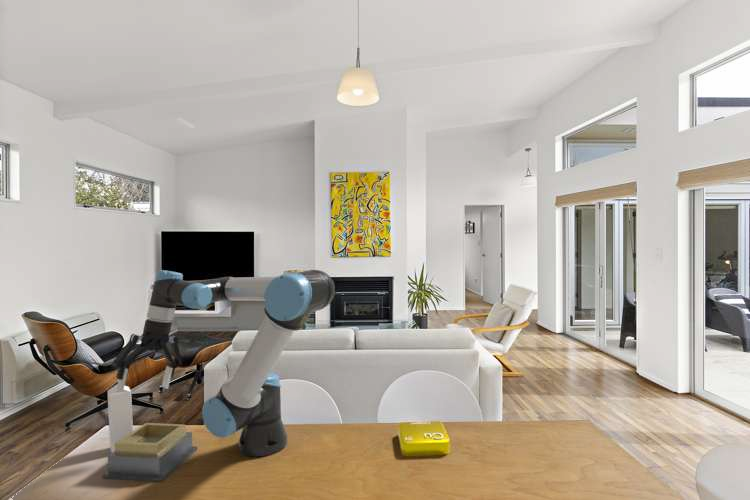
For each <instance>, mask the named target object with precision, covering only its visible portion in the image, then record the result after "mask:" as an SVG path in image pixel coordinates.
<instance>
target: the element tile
mask: <svg viewBox="0 0 750 500" xmlns="http://www.w3.org/2000/svg"><path fill="white" fill-rule="evenodd" d="M397 435H398V436H397V437H398V443H399V447H400V448H399V449H400V453H401V455H402V456H405V457H422V456H425V457H426V456H445V455H449V454H450V453H451V440H450V437H449V435H448V432H447V430H446V428H445V426H444V424H443V422H442V421H439V420H432V421H430V420H428V421H408V422H407V421H406V422H399V423H398V424H397Z"/></svg>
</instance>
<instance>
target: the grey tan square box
mask: <svg viewBox="0 0 750 500" xmlns="http://www.w3.org/2000/svg"><path fill="white" fill-rule="evenodd" d="M197 450H198V446H193V432H192V431H191V432H189V431H186V424H181V423H179V424H178V423H159V422H156V423H154V422H145V423H144V424H142V425H141V426H139V427H137V428H136V429H135V430H134V429H133V432H131V433H130V434H128V435H127V436H125V437H124V438H122V439H120V440H119V441H117V442H116V443H115V451H114V452H112V453H109V454H108V455H107V469H108V470H107V471H106V472H104V473H103V474H102V479H109V480H111V479H112V480H122V481H123V480H124V481H125V480H127V481H138V482H139V481H140V482H141V481H142V482H153V483H155V482H157V483H162V482H163V481H164V480H165V479H166V478H167V477H168V476H170V475H171V473H173V472H174V471H175V470H176V469H177V468H179V467H180V465H182V464H183V463H185V461H186V460H188V459H189V458H190V457H191V456H193V454H194V453H196V451H197Z"/></svg>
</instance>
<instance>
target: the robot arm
mask: <svg viewBox="0 0 750 500" xmlns="http://www.w3.org/2000/svg"><path fill="white" fill-rule="evenodd" d="M183 278H184V275H183V273H181V272H176V271H171V270H164V269H160V270H158V272H157V273H156V276H155V280H154V282H153V288H152V290H151V291H152V293H151V295H150V300H149V306H148V309H147V313H146V318H147V319H146V320H145V321H144V326H143V332H142V334H141V335H139V334H138V335H137V334H135V333H131V334H130V337H129V340H128V342H127V343H126V344H125V346H124V347H123V348H122V349H121V351H120V352H119V354H118V355H117V356H116V357H115V358H114V360H113V361H112V365H113V366H115V367H117V373H116V379H117V384H118V385H117V384H116V385H117V390H118V391H120V392H123V390H124V386H126V381H127V377H128V372H129V368H128V367H129V365H131V364H132V363H133V362H134V361H135V360H136V359H137V358H139V356H140V355H142V354H143V353H145V352H146V351H156V352H157V351H160V352H161V354H162V355H163V357H164V359H165V361H166V363H167V364H168V365H166V367H165V372H164V375H163V378H162V384H161V387H162V388H163V389H165V390H169V388H170V382H171V379H172V378H173V377H174V375H175V370H176V369H177V368H178V367H179V366H182V365H183V361H182V358H181V353H180V348H179V344H178V343H179V337H178V336H176V335H171V336H170V334H171V329H172V325H173V322H171V321H174V317H175V313H176V308H177V305H179V306H182V307H187V308H188V309H193V310H194V309H197V310H202V309H206V307H208V306H209V305H210V304H212V303H216V302H229V301H230V302H232V301H241V302H242V301H244V302H248V301H249V302H250V301H251V302H252V301H253V302H255V301H256V302H263V305H264V308H263V313H264V316H265V317H264V319H263V321H262V323H261V325H260V327H259V329H258V330H257V332H256V334H255V336H254V338H253V340H252V341H251V343H250V345H249V347H248V348H247V351H246V352H245V354H244V356H243V358H242V359H241V361H240V364H239V365H238V367H237V369H236V370H235V372H234V374H233V376H232V377H229V378H227V379H226V380H225V381H223V383H222V384H221V387H220V388H219V391H218V392H217V394H216V395H214V396H211V397H210V398H208V399H207V400H205V402H204V403H203V405H202V410H201V415H202V416H201V417H202V420H203V424H204V425H205V427H206V429H207V430H208V432H210V433H211V434H212V435H213V436H215V437H217V438H223V439H225V438H227V437H229V436H232V435H234V434H236V432H238V431H239V430H240V431H241V432H240V436H239V440H238V450H239V453H241V454H242V455H244V456H249V457H265V456H269V455H273V454H275V453H278V452H280V451H281V450H283V449H284V448H285V447H286V446H287V444H288V433H287V430H286V428H285V425H284V422H283V421H282V410H281V409H282V407H281V406H282V405H281V403H282V401H281V387H282V385H281V381H280V376H279V375H278V374H276V373H274V372H271V371H273V369H274V367H275V366H276V364H277V362H278V360H279V358H280V357H281V354H282V352H283V351H284V349H285V348H286V346H287V344H288V343H289V340H290V339H291V337H292V336H293V334H294V332H297V331H301V330H302V329H303V328H304V326H305V324H306V323H307V321H308V319H309V317H310V315H312V313H315V312H317V311H321V310H324V309H325V308H326V307H328V306H329V305H330V304H331V302H332V301H333V300H334V297H335V294H336V293H335V290H336V288H335V283H334V280H333V279H332V277H331V276H330V275H329V274H328V273H326V272H325V271H323V270H319V269H309V270H303V271H299V272H286V273H284V274H281V275H278V276H255V277H253V276H252V277H251V276H249V277H248V276H247V277H246V276H245V277H233V276H224V277H218V278H212V279H205V280H195V281H187V280H183ZM139 342H141V343H140V344H138V343H139ZM168 342H169V343H170V348H171V353H172V355H171V353H170V351H169V349H168V347H167V345H166V344H167V343H168ZM137 344H138V345H137ZM135 346H136V348H135ZM134 348H135V349H134ZM133 349H134V350H133ZM131 351H132V352H131ZM118 380H119V381H118Z"/></svg>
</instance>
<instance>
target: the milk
mask: <svg viewBox="0 0 750 500" xmlns="http://www.w3.org/2000/svg"><path fill="white" fill-rule="evenodd" d="M118 381H119V379H117V382H118ZM117 385H118V383H116V384H115V385H114V386H112V387H111V388H110V389H108V390H107V408H108V429H109V431H108V432H109V450H110V452H111V453H112V452H114V451H115V443H116V442H117V441H119V440H120V439H122V438H124V437H125V436H127V435H128V434H130V433H131V432H133V431H134V427H133V425H134V424H133V422H134V421H133V405H132V404H133V403H132V401H133V400H132V390H131V388H130V386H127V385H125V386H124V390H123V392H120V391H118V390H117ZM111 453H110V454H111Z"/></svg>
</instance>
